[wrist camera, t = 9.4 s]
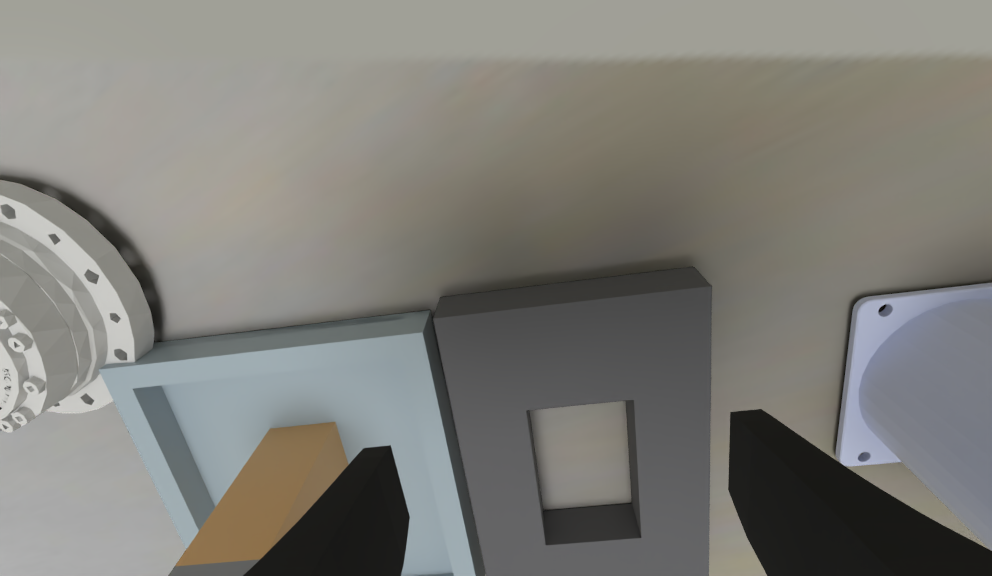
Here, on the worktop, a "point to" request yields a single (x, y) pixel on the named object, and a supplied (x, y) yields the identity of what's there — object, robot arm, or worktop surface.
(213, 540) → the orange two-tone block
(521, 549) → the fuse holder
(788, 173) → the worktop surface
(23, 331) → the mechanical component
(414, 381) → the parts tray
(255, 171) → the worktop surface
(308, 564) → the robot arm
